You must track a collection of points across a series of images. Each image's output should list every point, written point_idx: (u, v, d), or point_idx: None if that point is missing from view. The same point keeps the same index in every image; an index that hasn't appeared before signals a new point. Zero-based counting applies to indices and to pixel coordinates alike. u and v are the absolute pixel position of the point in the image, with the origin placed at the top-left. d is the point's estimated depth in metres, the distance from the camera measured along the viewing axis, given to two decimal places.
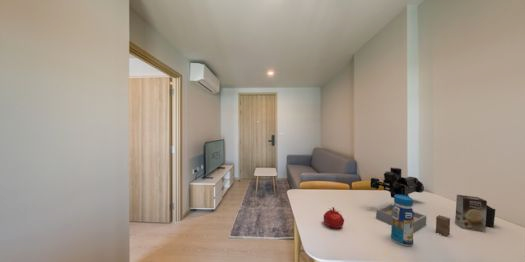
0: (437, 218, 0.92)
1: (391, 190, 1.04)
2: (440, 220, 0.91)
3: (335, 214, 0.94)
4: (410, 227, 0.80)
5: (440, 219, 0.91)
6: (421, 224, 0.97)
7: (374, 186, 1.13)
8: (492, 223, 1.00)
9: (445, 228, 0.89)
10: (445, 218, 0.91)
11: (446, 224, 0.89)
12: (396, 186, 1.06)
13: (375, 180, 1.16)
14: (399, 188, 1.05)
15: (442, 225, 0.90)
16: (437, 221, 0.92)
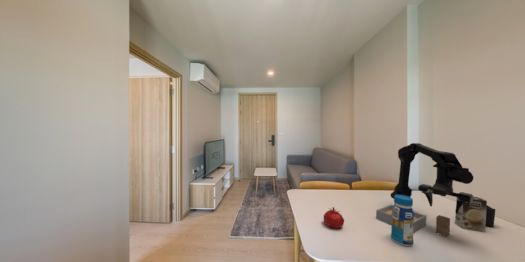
0: (437, 218, 0.92)
1: (458, 210, 0.87)
2: (440, 220, 0.91)
3: (335, 214, 0.94)
4: (410, 227, 0.80)
5: (440, 219, 0.91)
6: (421, 224, 0.97)
7: (431, 200, 0.96)
8: (492, 223, 1.00)
9: (445, 228, 0.89)
10: (445, 218, 0.91)
11: (446, 224, 0.89)
12: (459, 203, 0.86)
13: (426, 194, 0.95)
14: None
15: (442, 225, 0.90)
16: (437, 221, 0.92)
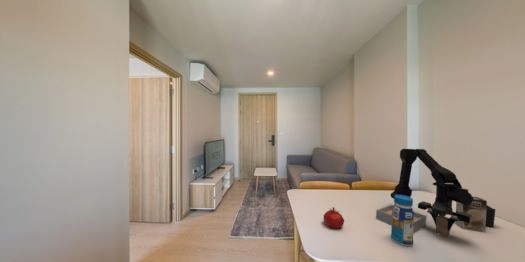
0: (437, 218, 0.92)
1: (450, 228, 0.89)
2: (440, 220, 0.91)
3: (335, 214, 0.94)
4: (410, 227, 0.80)
5: (440, 219, 0.91)
6: (421, 224, 0.97)
7: None
8: (492, 223, 1.00)
9: (445, 228, 0.89)
10: (445, 218, 0.91)
11: (446, 224, 0.89)
12: (451, 221, 0.88)
13: (432, 214, 0.93)
14: None
15: (442, 225, 0.90)
16: (437, 221, 0.92)
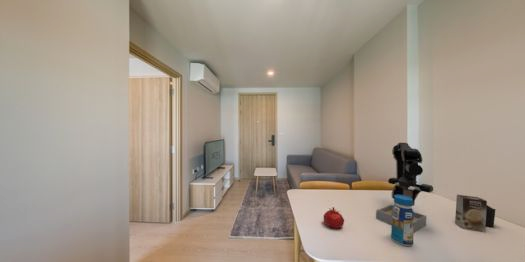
0: (404, 191, 1.03)
1: (415, 198, 1.00)
2: (406, 192, 1.02)
3: (335, 214, 0.94)
4: (410, 227, 0.80)
5: (406, 191, 1.02)
6: (421, 224, 0.97)
7: None
8: (492, 223, 1.00)
9: None
10: (410, 190, 1.02)
11: (411, 195, 1.00)
12: (415, 192, 0.99)
13: (400, 187, 1.04)
14: None
15: (408, 196, 1.01)
16: (403, 194, 1.03)
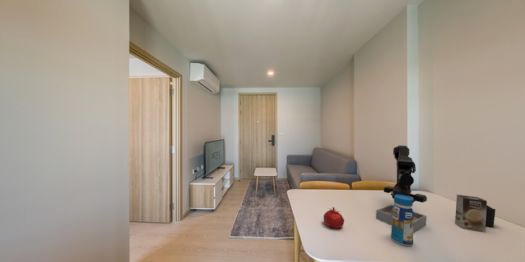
0: None
1: None
2: None
3: (335, 214, 0.94)
4: (410, 227, 0.80)
5: None
6: (421, 224, 0.97)
7: None
8: (492, 223, 1.00)
9: None
10: None
11: None
12: None
13: None
14: None
15: None
16: None
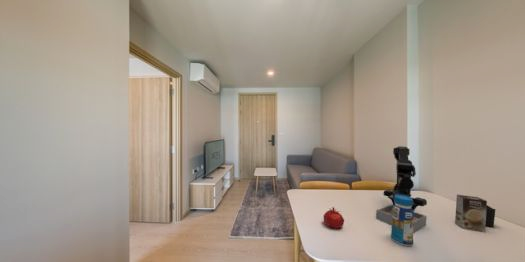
0: None
1: None
2: None
3: (335, 214, 0.94)
4: (410, 227, 0.80)
5: None
6: (421, 224, 0.97)
7: None
8: (492, 223, 1.00)
9: None
10: None
11: None
12: (412, 206, 0.99)
13: (391, 199, 1.07)
14: None
15: None
16: None
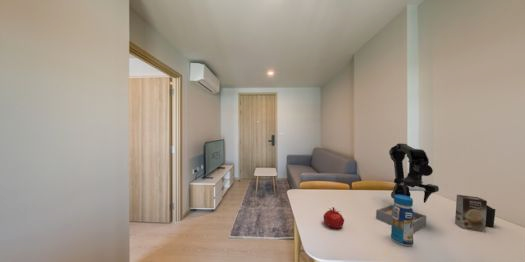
0: None
1: (426, 200, 0.99)
2: None
3: (335, 214, 0.94)
4: (410, 227, 0.80)
5: None
6: (421, 224, 0.97)
7: (405, 191, 1.08)
8: (492, 223, 1.00)
9: None
10: None
11: None
12: (426, 193, 0.98)
13: (400, 186, 1.08)
14: None
15: None
16: None
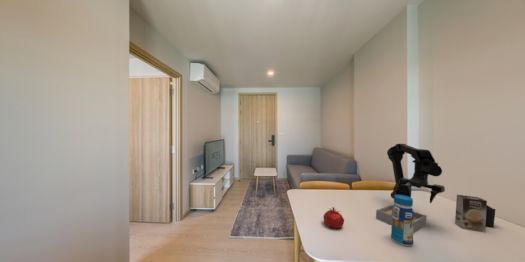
0: None
1: (432, 200, 0.99)
2: None
3: (335, 214, 0.94)
4: (410, 227, 0.80)
5: None
6: (421, 224, 0.97)
7: (410, 192, 1.08)
8: (492, 223, 1.00)
9: None
10: None
11: None
12: (432, 193, 0.98)
13: (406, 186, 1.07)
14: None
15: None
16: None
